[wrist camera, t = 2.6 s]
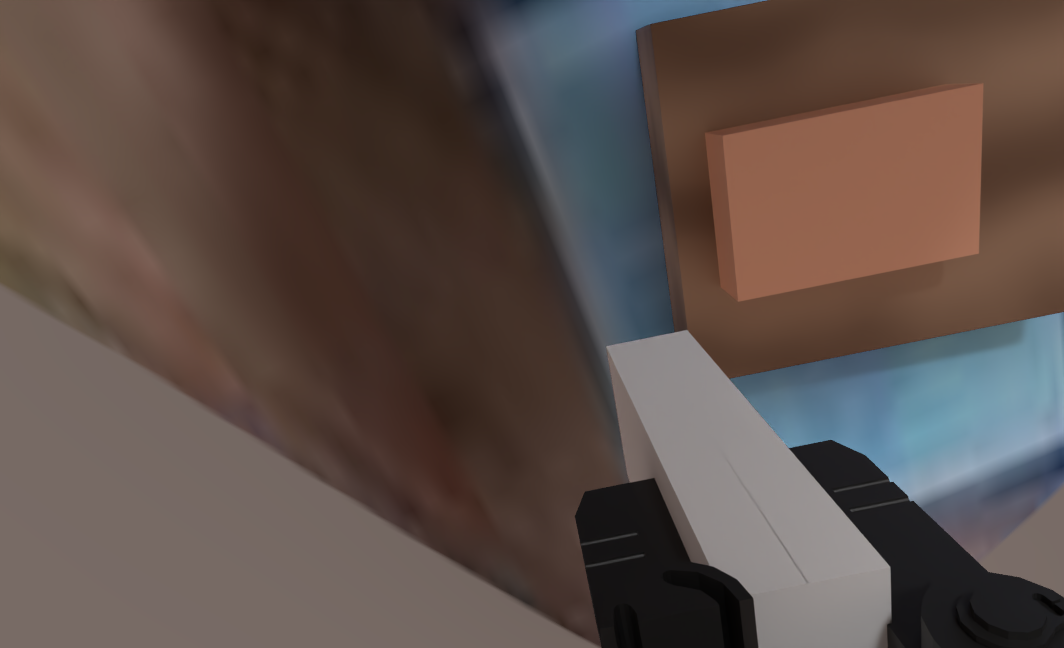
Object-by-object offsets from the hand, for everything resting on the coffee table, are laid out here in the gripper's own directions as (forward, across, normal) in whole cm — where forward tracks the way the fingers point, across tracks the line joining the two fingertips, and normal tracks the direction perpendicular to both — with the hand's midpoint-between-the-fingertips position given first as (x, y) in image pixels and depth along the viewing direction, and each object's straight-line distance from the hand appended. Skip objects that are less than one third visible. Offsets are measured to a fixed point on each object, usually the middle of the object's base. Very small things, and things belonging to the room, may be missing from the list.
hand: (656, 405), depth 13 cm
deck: (+17, +12, 0) cm, 21 cm away
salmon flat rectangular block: (+14, +10, 0) cm, 17 cm away
